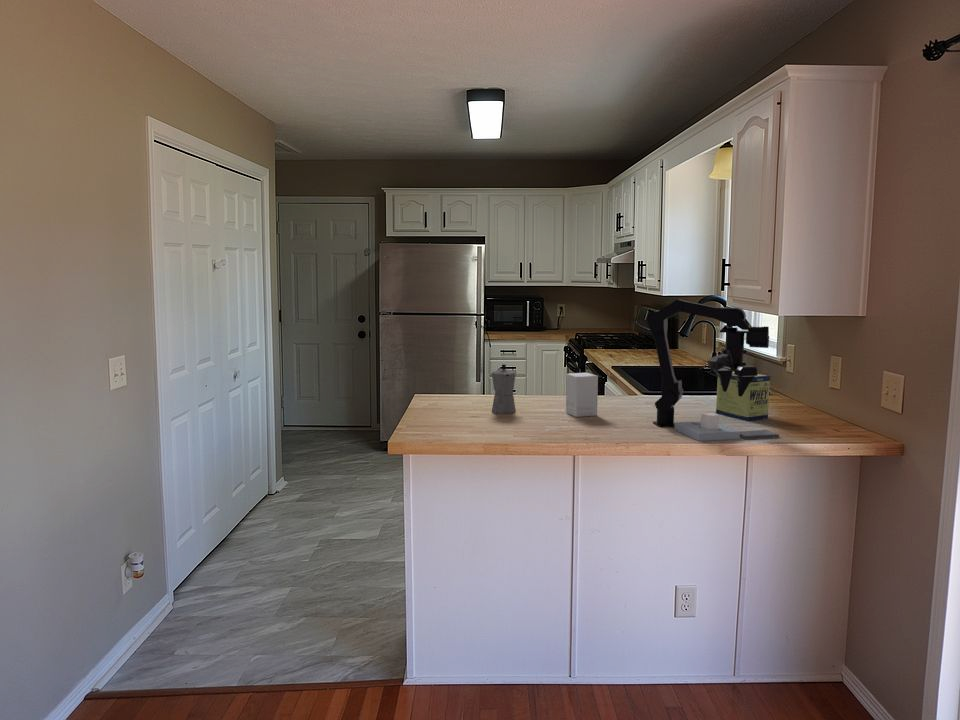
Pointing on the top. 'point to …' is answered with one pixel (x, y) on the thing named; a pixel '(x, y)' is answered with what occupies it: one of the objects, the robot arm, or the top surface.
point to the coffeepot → (503, 391)
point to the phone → (757, 434)
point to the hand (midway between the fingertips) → (732, 393)
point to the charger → (709, 421)
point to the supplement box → (581, 394)
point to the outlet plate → (702, 435)
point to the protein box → (744, 399)
